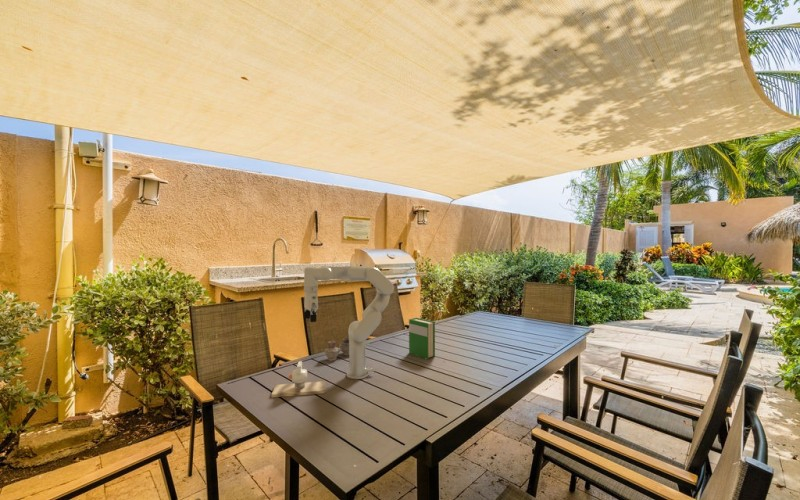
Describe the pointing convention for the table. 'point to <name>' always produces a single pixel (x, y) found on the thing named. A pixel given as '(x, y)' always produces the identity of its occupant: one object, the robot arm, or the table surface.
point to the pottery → (337, 349)
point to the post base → (298, 389)
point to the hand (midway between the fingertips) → (310, 320)
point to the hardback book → (422, 337)
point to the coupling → (298, 374)
